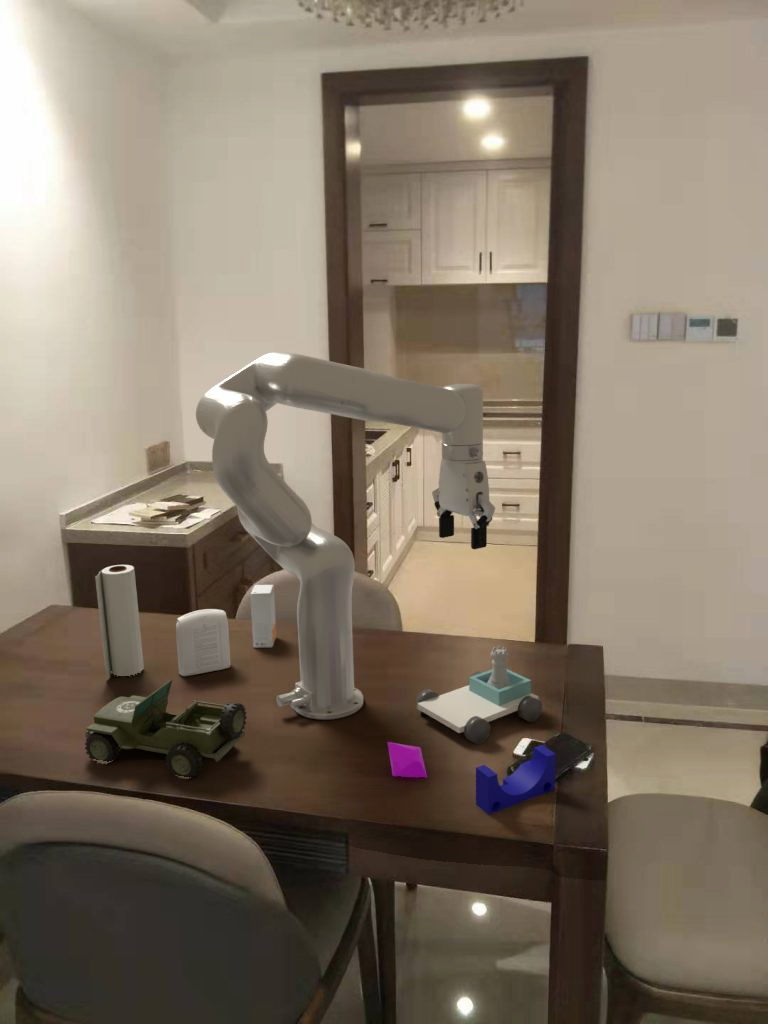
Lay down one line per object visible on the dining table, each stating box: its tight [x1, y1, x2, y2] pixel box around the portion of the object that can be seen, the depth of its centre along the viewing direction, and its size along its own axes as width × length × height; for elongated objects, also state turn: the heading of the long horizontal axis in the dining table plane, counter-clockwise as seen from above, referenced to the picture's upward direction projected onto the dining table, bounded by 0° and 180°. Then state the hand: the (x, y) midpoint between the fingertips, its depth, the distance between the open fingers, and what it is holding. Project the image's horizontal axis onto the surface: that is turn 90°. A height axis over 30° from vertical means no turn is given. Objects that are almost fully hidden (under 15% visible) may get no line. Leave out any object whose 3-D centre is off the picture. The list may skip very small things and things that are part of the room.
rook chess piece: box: [487, 645, 512, 689], centre depth 153 cm, size 4×4×8 cm
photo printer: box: [175, 608, 231, 677], centre depth 171 cm, size 10×4×12 cm, turn 116°
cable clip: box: [475, 744, 556, 815], centre depth 127 cm, size 12×4×6 cm, turn 120°
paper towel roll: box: [94, 564, 145, 680], centre depth 170 cm, size 7×6×21 cm
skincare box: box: [249, 584, 277, 649], centre depth 184 cm, size 6×4×12 cm
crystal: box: [387, 741, 428, 779], centre depth 133 cm, size 5×5×5 cm
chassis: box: [415, 668, 543, 745], centre depth 151 cm, size 18×15×6 cm
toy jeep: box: [84, 678, 247, 779], centre depth 140 cm, size 12×25×11 cm, turn 70°
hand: (462, 542), depth 165 cm, fingers open, 9 cm apart
